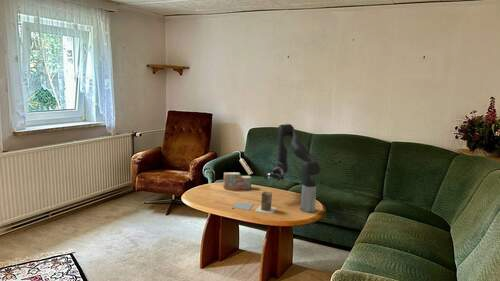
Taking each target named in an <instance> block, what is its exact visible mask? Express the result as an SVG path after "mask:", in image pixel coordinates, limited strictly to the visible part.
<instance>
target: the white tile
mask: <svg viewBox="0 0 500 281" xmlns="http://www.w3.org/2000/svg"><path fill="white" fill-rule="evenodd" d="M277 208H278V207H275V206H271V209H270V211H266V210H261V204H260V205H259V206H258V207H256V209H255V212H259V213H260V212H261V213H268V214H274V213H275V211H276V210H277Z"/></svg>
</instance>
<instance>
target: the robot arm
mask: <svg viewBox="0 0 500 281" xmlns="http://www.w3.org/2000/svg"><path fill="white" fill-rule="evenodd" d="M288 137H290V139H291V142H290V149H291V151H292V153H293V154H294V156H295V157H297V158H298V159H300V160H302V161H304V162H303V163H302V165H301V182H302V183H301V184H302V185H301V196H300V197H301V199H300V211H302V212H305V213H314V212H315V210H316V199H317V196H316V192H317V181H316V180H315V179H312V178H311V176H317V175H319V174H320V172H321V166H320V164H319V162H318V161H317V160H316V159H315V157H314V156H313V155H312V154H311V153H310V151H309V150H308V149H307V147H306V145H305V144H304V142H302V140H301V139H300V137H299V135H298V134H297V132H296V129H295V127H294V126H293V125H292V124H290V123H287V124H286V123H285V124H280V125H278V127H277V144H278V152H277V153H278V155H277V161H278V162H280V163H276V164H275V165H274V168H273V169H272V170H271V172H270V173H268V172H266V171H265V173H263V178H264V179H265V180H267V179H273V180H277V182H278V181H280V180H281V181H284V179H285V174H287V173H288V172H289V164H288V148H287V147H286V144H285V142H284V138H288Z"/></svg>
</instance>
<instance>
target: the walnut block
mask: <svg viewBox="0 0 500 281" xmlns="http://www.w3.org/2000/svg"><path fill="white" fill-rule="evenodd" d="M272 195H273V192H270V191H262V193H261V202H260V203H261V204H260V205H261V210H266V211H270V209H271V207H272V200H273V199H272V197H273V196H272Z"/></svg>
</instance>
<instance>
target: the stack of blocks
mask: <svg viewBox="0 0 500 281" xmlns="http://www.w3.org/2000/svg"><path fill="white" fill-rule="evenodd" d="M223 189H224V190H251V189H252V176H250V175H241V173H240V172H235V171H233V172H223Z"/></svg>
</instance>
